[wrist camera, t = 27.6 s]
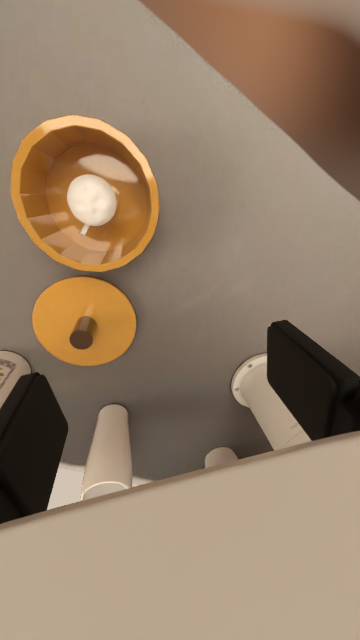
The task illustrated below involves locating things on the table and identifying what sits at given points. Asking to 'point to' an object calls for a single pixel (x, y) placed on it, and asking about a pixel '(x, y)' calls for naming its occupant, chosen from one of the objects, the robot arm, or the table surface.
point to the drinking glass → (108, 455)
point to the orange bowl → (53, 183)
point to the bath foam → (11, 372)
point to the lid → (84, 321)
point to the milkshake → (91, 201)
